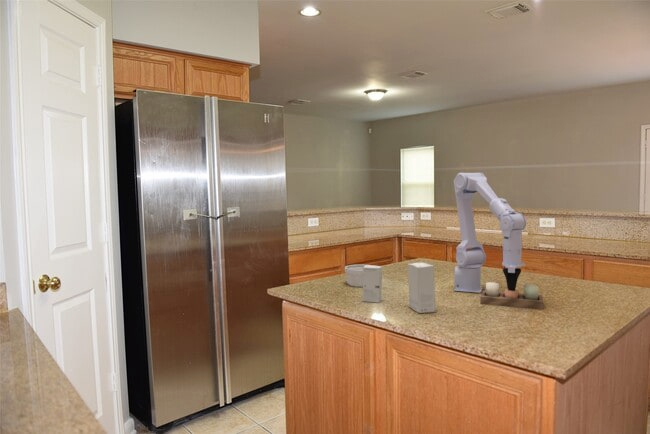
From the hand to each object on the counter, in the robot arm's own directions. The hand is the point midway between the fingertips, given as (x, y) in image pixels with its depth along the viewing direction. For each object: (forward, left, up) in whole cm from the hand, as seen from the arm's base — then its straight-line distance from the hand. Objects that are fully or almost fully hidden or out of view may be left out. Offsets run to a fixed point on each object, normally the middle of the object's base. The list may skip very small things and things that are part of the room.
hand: (511, 290), depth 153 cm
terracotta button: (0, 0, -4) cm, 4 cm away
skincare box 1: (-45, -13, -5) cm, 47 cm away
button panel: (0, 0, -4) cm, 4 cm away
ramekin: (-57, +10, -5) cm, 58 cm away
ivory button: (-6, 0, -2) cm, 6 cm away
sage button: (+6, 0, -2) cm, 6 cm away
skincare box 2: (-27, -18, -5) cm, 32 cm away
